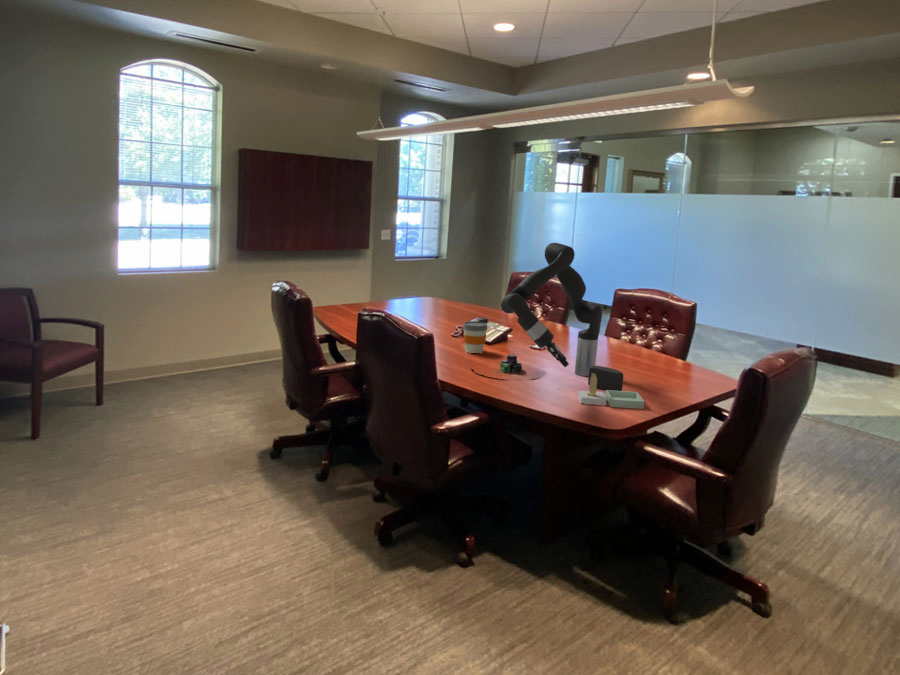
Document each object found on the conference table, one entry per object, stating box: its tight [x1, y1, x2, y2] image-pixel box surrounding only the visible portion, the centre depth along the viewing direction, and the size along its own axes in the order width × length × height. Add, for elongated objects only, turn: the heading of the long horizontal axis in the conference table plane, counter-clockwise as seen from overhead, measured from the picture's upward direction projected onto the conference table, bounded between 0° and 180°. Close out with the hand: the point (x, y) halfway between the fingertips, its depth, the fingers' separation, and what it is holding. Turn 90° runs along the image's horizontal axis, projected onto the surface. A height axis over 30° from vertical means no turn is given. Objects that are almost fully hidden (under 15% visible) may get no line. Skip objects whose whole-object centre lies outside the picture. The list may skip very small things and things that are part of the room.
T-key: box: [588, 373, 597, 396], centre depth 262 cm, size 5×2×11 cm, turn 177°
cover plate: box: [577, 390, 608, 406], centre depth 263 cm, size 10×10×2 cm
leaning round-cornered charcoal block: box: [587, 365, 624, 391], centre depth 280 cm, size 16×5×9 cm, turn 47°
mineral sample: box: [499, 353, 540, 381], centre depth 304 cm, size 35×35×9 cm
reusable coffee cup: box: [462, 320, 488, 354], centre depth 337 cm, size 12×13×15 cm
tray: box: [604, 390, 645, 410], centre depth 263 cm, size 13×13×3 cm
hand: (565, 363), depth 261 cm, fingers open, 8 cm apart
